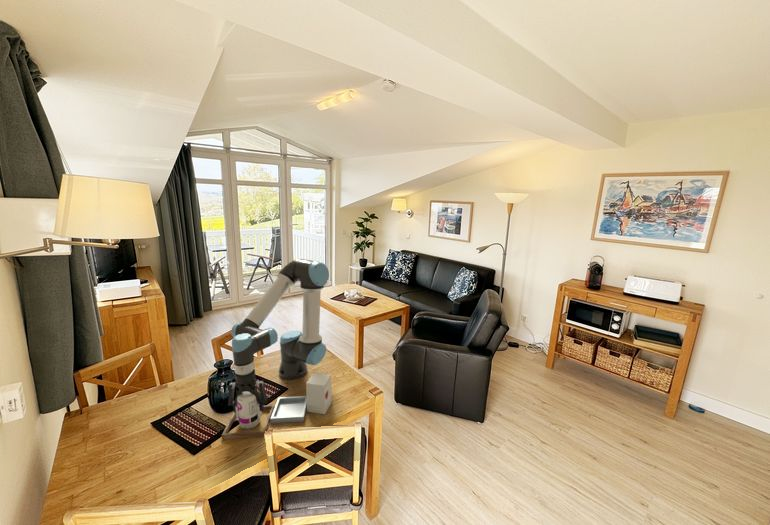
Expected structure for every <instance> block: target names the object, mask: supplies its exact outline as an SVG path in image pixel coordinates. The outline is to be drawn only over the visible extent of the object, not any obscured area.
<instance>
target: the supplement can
mask: <svg viewBox="0 0 770 525" xmlns="http://www.w3.org/2000/svg"><path fill="white" fill-rule="evenodd" d="M237 405H238V414H239V420H238V422H239V427H240V428H242V429H244V430H249V429H252V428H255V427H256V426H257V425H258V424H259V423H260V421H261V418H260V419H258V410H257V405H258V403H257V401H256V397H255V395H252V394H251V393H250V392H247V391H245V392H242V393H241V394H240V395H239V396H238V397H237Z"/></svg>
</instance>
